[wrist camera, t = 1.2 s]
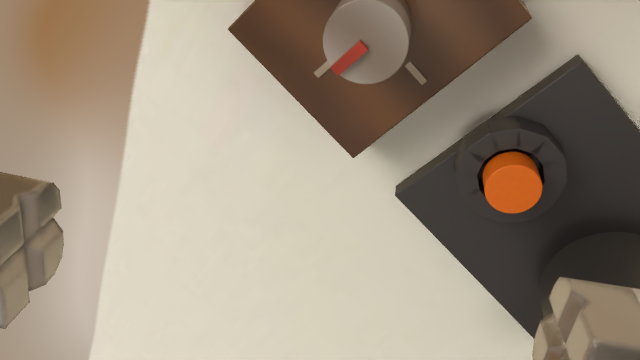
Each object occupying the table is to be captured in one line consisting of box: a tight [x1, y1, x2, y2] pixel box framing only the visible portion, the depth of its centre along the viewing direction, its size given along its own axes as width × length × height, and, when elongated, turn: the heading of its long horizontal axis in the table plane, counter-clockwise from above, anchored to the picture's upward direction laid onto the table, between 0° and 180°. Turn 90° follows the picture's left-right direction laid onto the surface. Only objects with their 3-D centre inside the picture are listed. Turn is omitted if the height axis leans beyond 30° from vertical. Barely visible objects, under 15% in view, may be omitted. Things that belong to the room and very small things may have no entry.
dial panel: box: [228, 0, 532, 158], centre depth 32 cm, size 12×10×3 cm
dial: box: [323, 0, 412, 84], centre depth 29 cm, size 4×4×4 cm
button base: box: [395, 55, 640, 338], centre depth 36 cm, size 16×13×3 cm
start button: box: [483, 152, 543, 214], centre depth 33 cm, size 3×3×2 cm
